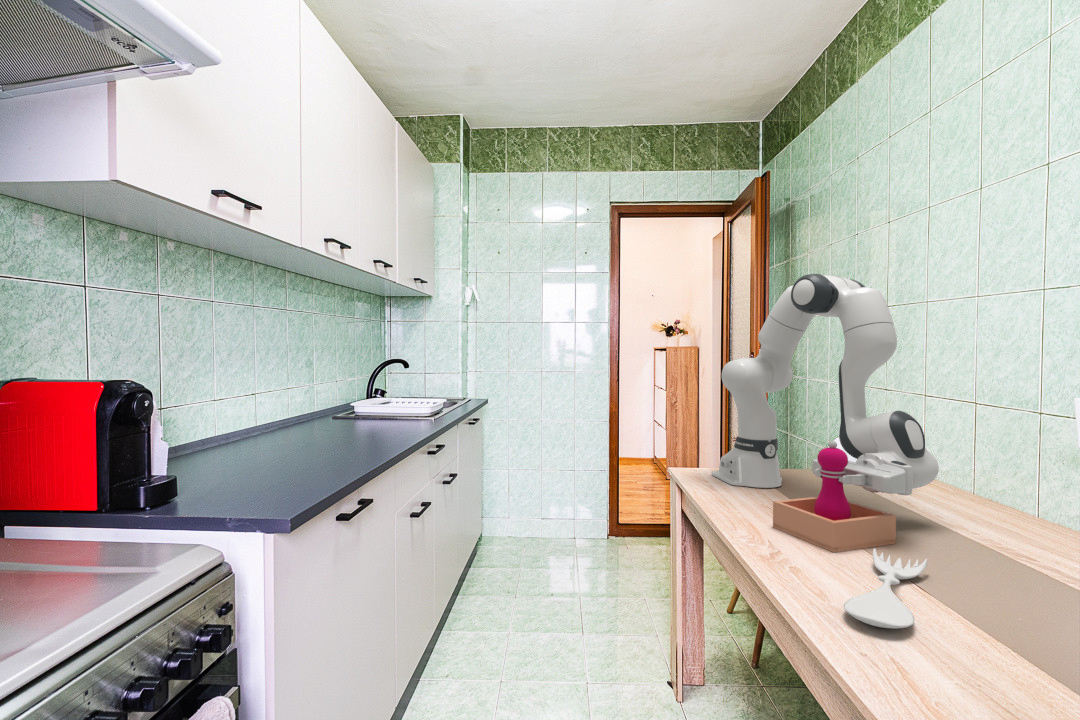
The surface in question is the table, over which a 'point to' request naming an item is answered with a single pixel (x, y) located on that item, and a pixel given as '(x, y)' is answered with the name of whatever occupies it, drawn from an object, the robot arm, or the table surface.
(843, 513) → the pepper mill
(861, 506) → the crate
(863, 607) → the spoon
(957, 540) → the table surface
